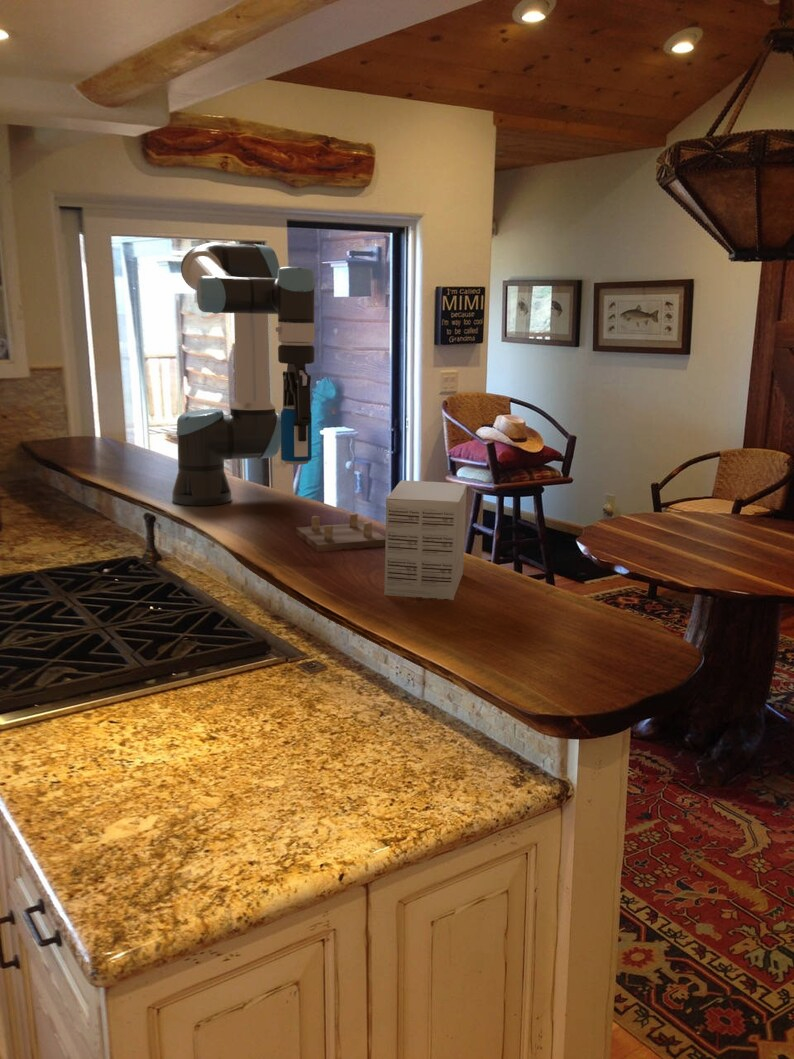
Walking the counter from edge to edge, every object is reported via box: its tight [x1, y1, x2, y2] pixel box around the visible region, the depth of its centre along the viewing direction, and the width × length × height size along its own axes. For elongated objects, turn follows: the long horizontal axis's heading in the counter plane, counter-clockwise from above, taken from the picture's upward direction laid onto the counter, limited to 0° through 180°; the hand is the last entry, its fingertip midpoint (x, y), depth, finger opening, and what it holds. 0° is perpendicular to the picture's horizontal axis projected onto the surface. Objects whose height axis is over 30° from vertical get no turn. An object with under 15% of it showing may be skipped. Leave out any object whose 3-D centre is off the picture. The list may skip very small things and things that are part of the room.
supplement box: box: [383, 479, 468, 601], centre depth 168 cm, size 17×13×18 cm
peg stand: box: [295, 512, 386, 553], centre depth 201 cm, size 16×16×4 cm
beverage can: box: [280, 405, 313, 466], centre depth 194 cm, size 6×6×12 cm
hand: (296, 453), depth 195 cm, fingers closed on beverage can, 6 cm apart
